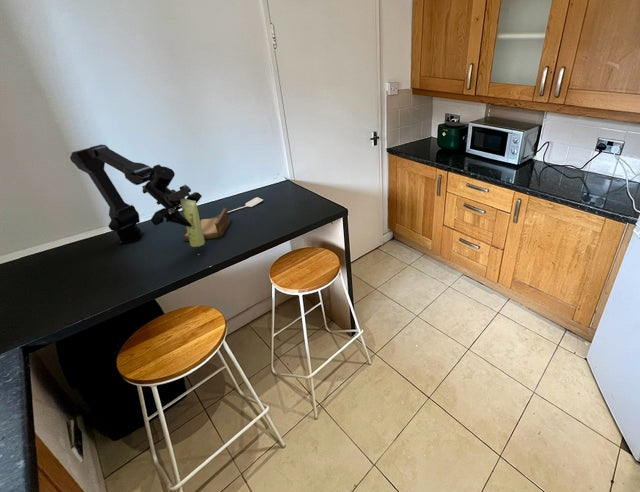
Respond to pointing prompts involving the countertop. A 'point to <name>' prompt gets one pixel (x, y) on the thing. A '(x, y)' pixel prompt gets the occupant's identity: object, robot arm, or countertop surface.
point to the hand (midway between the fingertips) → (195, 223)
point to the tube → (193, 222)
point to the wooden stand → (214, 226)
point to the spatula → (247, 204)
